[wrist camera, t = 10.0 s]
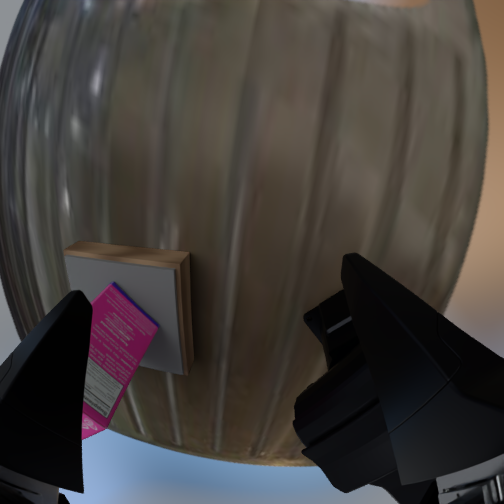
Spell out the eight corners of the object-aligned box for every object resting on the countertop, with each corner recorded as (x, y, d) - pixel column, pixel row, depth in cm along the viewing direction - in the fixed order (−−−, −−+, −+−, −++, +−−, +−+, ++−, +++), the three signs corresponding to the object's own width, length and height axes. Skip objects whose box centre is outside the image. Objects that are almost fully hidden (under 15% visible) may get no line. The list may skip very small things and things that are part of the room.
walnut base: (189, 252, 23) (178, 266, 20) (194, 358, 27) (187, 378, 24) (78, 241, 23) (60, 251, 20) (99, 337, 27) (87, 352, 25)
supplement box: (132, 353, 24) (80, 443, 13) (88, 312, 22) (18, 389, 12) (164, 326, 22) (106, 432, 11) (113, 278, 21) (27, 363, 10)
